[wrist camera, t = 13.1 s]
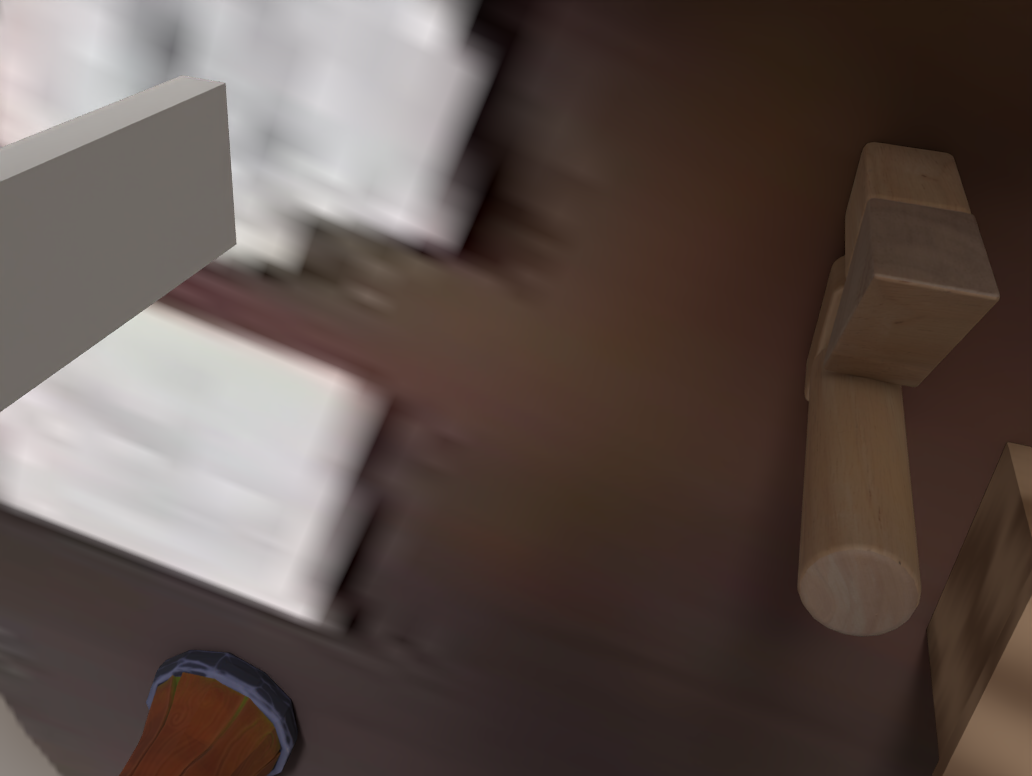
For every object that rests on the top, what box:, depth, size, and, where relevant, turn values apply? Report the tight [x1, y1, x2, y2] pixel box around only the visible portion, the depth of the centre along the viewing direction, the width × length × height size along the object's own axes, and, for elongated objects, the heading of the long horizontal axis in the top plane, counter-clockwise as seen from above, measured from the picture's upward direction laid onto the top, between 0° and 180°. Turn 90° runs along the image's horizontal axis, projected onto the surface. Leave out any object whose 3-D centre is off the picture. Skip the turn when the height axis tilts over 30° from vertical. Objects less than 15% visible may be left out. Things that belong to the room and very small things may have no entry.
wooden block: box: [797, 142, 1000, 637], centre depth 35 cm, size 4×11×18 cm, turn 176°
